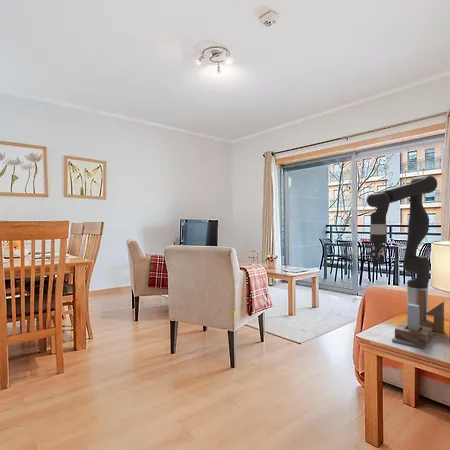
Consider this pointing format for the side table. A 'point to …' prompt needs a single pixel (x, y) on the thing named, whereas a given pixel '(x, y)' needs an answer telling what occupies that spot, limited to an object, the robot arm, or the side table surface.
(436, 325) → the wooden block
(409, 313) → the rectangular block
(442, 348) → the side table surface
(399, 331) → the wooden socket base
